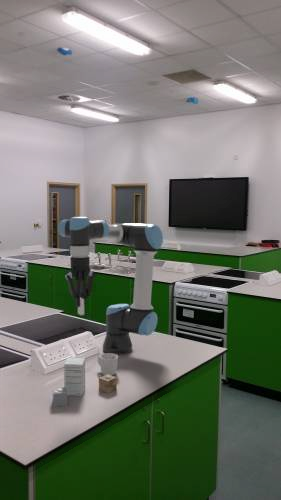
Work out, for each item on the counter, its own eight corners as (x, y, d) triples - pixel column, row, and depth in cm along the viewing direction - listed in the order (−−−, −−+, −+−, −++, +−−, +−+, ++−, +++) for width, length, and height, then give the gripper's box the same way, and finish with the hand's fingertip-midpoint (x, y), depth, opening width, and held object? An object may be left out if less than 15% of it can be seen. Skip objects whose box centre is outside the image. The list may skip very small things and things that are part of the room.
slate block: (66, 399, 165) (66, 386, 164) (67, 405, 160) (67, 392, 160) (52, 400, 164) (52, 387, 163) (53, 406, 159) (53, 393, 158)
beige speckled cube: (107, 385, 178) (107, 373, 178) (116, 389, 175) (116, 377, 174) (98, 389, 174) (98, 377, 174) (107, 393, 171) (107, 380, 170)
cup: (91, 372, 192) (91, 354, 191) (105, 367, 198) (105, 350, 197) (108, 379, 185) (108, 360, 184) (121, 373, 191) (121, 356, 190)
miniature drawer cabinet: (67, 387, 176) (67, 357, 174) (85, 388, 176) (85, 357, 174) (63, 395, 168) (63, 363, 167) (82, 396, 168) (82, 364, 167)
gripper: (90, 253, 179) (90, 309, 182) (60, 256, 171) (62, 314, 174) (99, 255, 173) (99, 313, 176) (69, 258, 165) (70, 318, 168)
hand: (81, 314), depth 175 cm, fingers closed
